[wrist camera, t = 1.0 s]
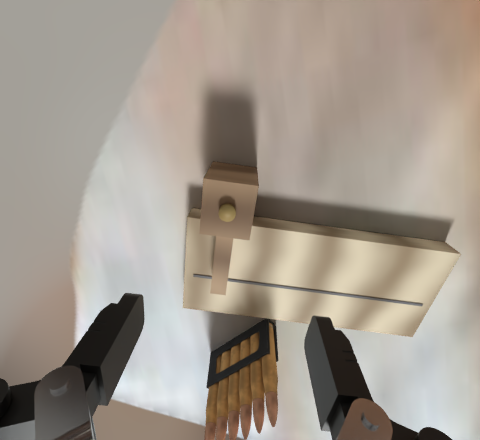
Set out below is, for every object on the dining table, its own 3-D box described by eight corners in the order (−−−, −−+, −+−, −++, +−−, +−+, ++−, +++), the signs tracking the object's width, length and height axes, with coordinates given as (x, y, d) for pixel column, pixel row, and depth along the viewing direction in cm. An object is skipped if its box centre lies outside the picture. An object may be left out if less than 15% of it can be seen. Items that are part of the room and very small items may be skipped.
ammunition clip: (267, 317, 35) (275, 418, 24) (276, 325, 35) (287, 427, 24) (210, 353, 38) (194, 455, 27) (219, 359, 38) (207, 463, 28)
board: (187, 294, 33) (182, 308, 31) (192, 207, 28) (187, 217, 26) (402, 321, 34) (412, 337, 32) (445, 242, 29) (461, 254, 27)
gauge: (213, 161, 26) (202, 180, 20) (256, 167, 26) (258, 188, 20) (204, 264, 31) (193, 304, 25) (240, 269, 31) (238, 309, 26)
